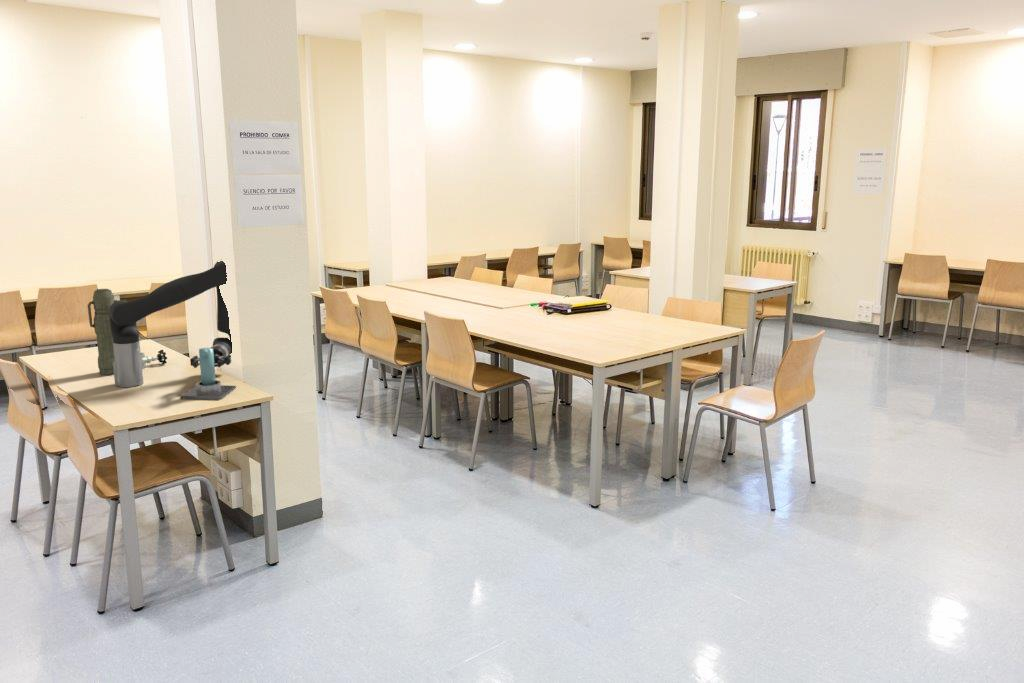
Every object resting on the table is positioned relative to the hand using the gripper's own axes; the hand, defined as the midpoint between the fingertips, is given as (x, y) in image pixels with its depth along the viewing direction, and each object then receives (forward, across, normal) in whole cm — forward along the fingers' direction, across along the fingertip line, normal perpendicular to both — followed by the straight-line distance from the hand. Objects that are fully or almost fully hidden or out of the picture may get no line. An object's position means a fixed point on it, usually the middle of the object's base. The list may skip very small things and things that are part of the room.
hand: (206, 365), depth 292 cm
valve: (-46, -35, +12) cm, 58 cm away
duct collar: (0, 0, +11) cm, 11 cm away
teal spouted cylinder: (0, 0, +10) cm, 10 cm away
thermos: (-36, -47, +11) cm, 61 cm away
